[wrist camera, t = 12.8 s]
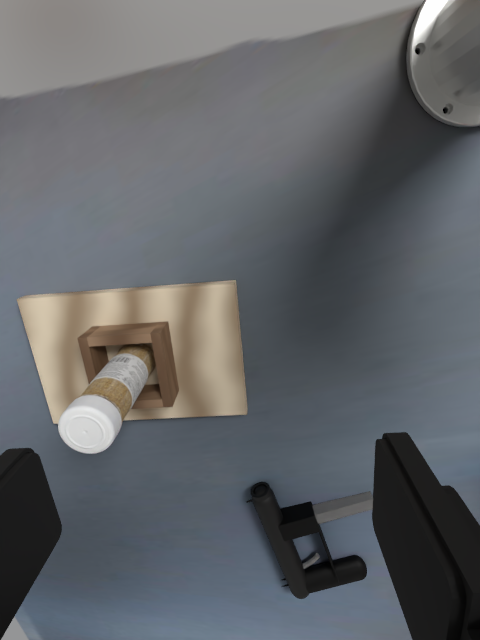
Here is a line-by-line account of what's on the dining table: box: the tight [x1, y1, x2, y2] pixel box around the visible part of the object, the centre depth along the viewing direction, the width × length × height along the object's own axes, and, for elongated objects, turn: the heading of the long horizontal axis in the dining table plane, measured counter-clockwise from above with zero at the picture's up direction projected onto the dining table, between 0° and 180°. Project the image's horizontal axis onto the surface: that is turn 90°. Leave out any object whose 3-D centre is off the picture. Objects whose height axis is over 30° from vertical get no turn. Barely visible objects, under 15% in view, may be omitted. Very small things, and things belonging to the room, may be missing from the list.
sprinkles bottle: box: [58, 343, 156, 454], centre depth 34 cm, size 5×5×13 cm
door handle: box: [246, 482, 373, 599], centre depth 49 cm, size 3×20×16 cm
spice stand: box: [17, 280, 247, 424], centre depth 40 cm, size 24×16×5 cm, turn 95°
